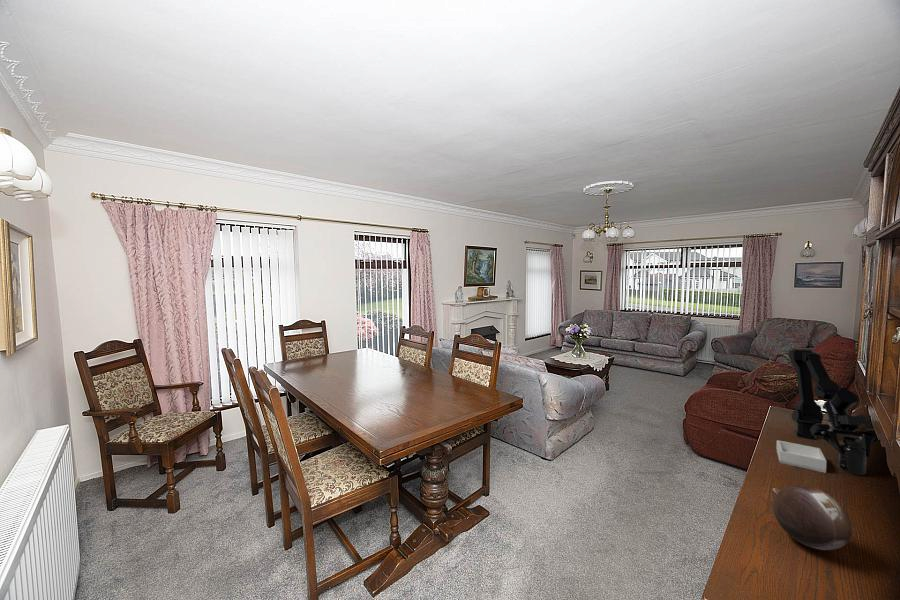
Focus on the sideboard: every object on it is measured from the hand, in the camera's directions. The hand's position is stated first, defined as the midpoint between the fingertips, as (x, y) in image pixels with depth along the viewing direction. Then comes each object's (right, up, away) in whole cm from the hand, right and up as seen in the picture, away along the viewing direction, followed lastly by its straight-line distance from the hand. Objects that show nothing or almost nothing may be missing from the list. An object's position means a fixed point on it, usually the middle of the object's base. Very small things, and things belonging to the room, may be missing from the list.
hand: (854, 455), depth 132 cm
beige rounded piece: (-42, -8, -18) cm, 46 cm away
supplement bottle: (+1, -7, +2) cm, 7 cm away
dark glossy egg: (-51, -9, -34) cm, 62 cm away
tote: (-11, -6, +9) cm, 16 cm away
